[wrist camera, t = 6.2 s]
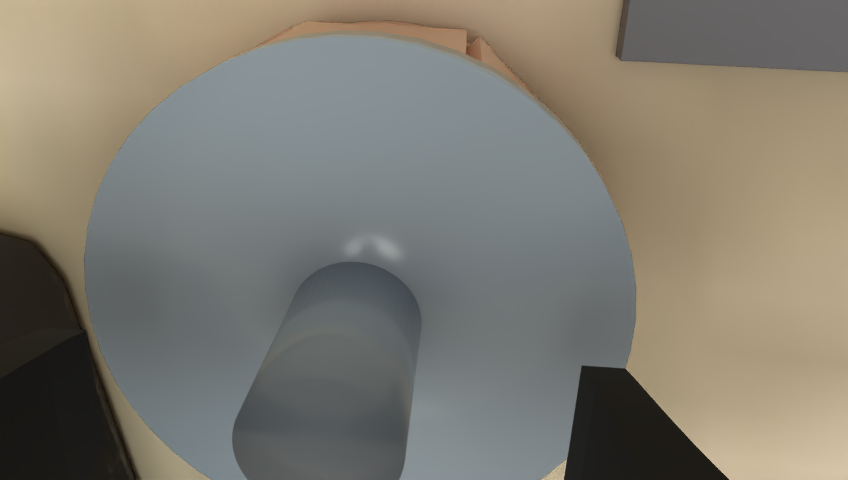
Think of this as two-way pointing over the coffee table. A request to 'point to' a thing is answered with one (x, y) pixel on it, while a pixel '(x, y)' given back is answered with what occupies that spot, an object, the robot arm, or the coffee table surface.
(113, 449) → the cash box
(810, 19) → the mat
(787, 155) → the coffee table surface
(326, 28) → the bowl
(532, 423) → the lid
